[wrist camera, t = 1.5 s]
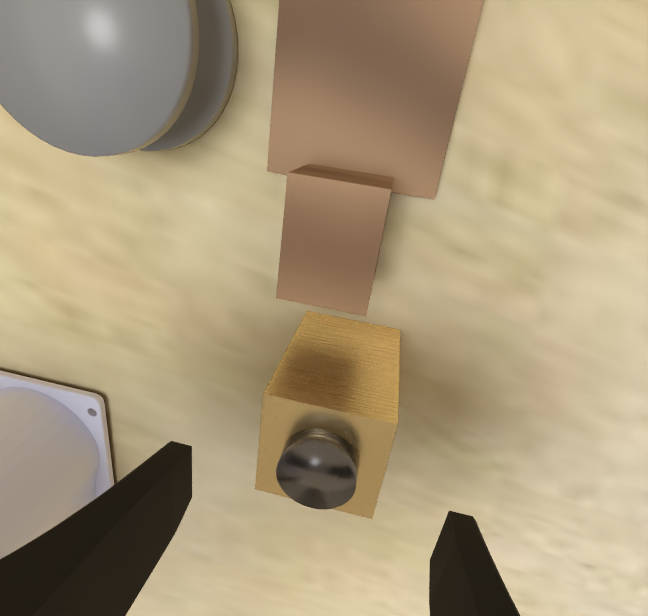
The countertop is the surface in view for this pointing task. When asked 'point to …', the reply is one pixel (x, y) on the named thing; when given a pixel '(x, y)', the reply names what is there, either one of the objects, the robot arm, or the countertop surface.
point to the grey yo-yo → (116, 71)
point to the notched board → (359, 130)
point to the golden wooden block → (331, 415)
